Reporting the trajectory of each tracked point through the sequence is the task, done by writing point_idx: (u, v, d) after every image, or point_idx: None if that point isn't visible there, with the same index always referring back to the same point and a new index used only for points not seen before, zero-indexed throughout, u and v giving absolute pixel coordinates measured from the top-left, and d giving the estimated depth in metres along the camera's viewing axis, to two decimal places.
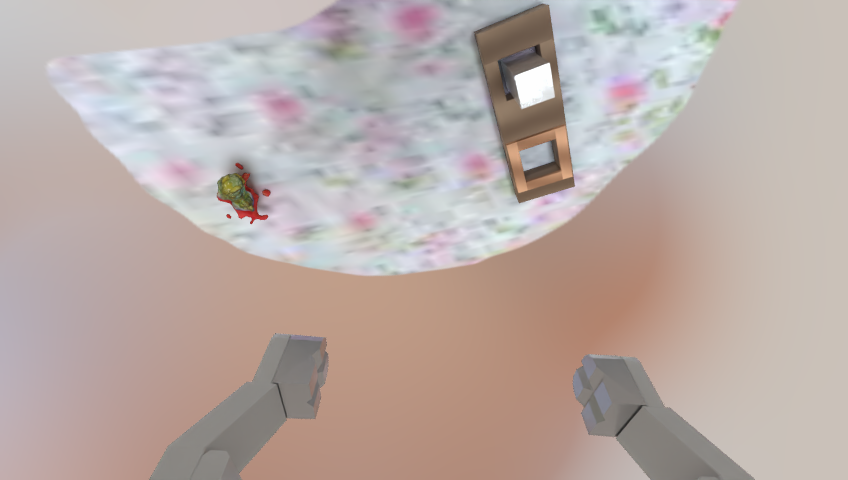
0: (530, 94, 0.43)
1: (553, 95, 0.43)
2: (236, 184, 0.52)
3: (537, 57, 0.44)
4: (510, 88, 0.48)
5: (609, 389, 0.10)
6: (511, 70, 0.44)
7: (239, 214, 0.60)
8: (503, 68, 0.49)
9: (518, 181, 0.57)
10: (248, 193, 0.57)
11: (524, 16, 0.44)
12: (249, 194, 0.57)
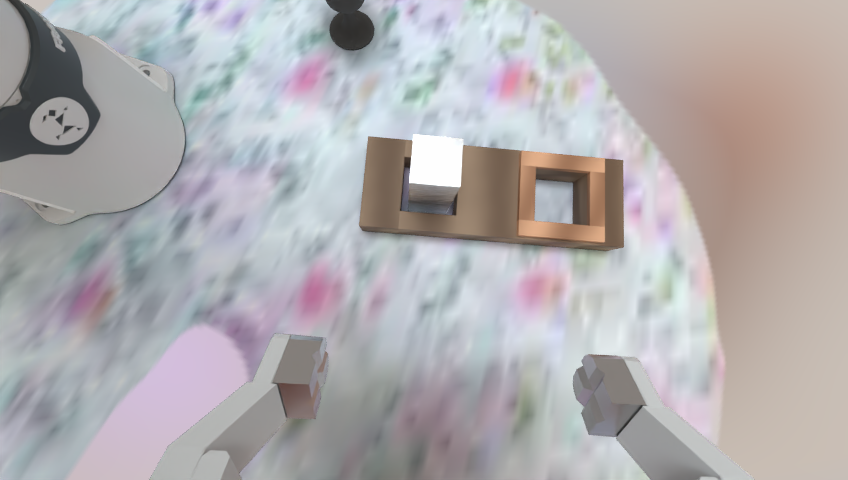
0: (444, 169, 0.28)
1: (460, 140, 0.29)
2: None
3: None
4: (440, 204, 0.34)
5: (609, 389, 0.10)
6: (409, 190, 0.31)
7: None
8: (417, 209, 0.37)
9: (584, 236, 0.35)
10: None
11: (366, 165, 0.35)
12: None
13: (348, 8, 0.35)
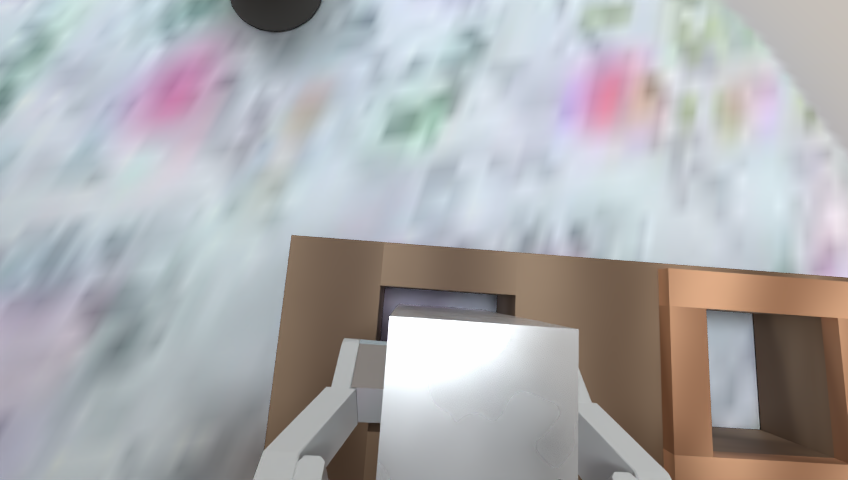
0: (512, 462, 0.07)
1: (566, 334, 0.08)
2: None
3: None
4: None
5: None
6: None
7: None
8: None
9: None
10: None
11: (285, 309, 0.14)
12: None
13: None
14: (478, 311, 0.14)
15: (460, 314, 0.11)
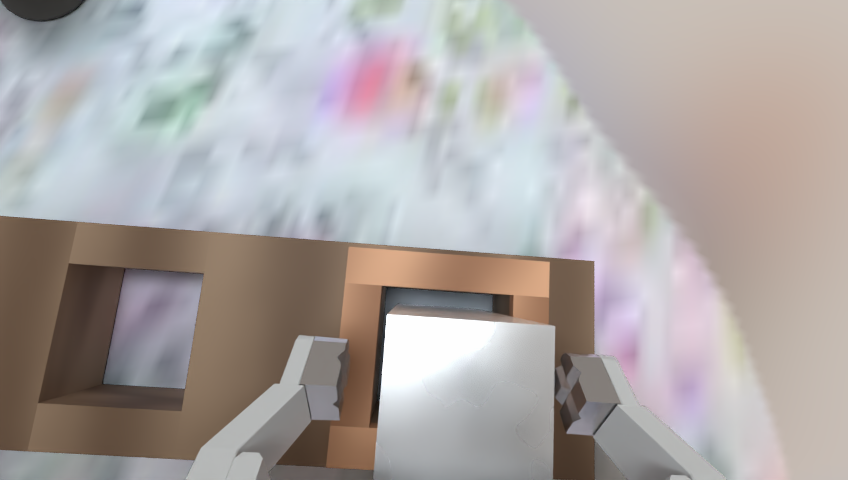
0: (495, 443, 0.08)
1: (544, 330, 0.09)
2: None
3: None
4: None
5: (585, 388, 0.10)
6: None
7: None
8: None
9: None
10: None
11: None
12: None
13: None
14: (472, 310, 0.15)
15: (453, 313, 0.12)
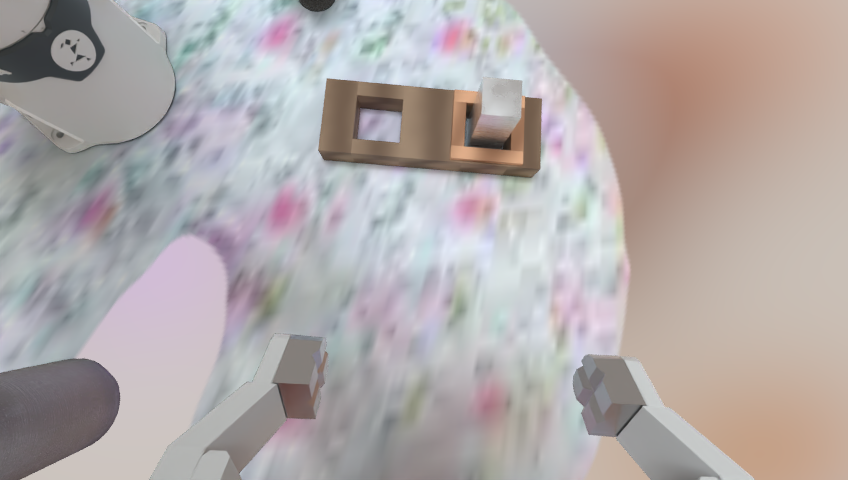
0: (508, 104, 0.36)
1: (519, 81, 0.36)
2: None
3: (475, 101, 0.40)
4: (496, 142, 0.42)
5: (609, 389, 0.10)
6: (476, 125, 0.38)
7: None
8: None
9: (505, 158, 0.42)
10: None
11: (325, 101, 0.42)
12: None
13: None
14: None
15: None
